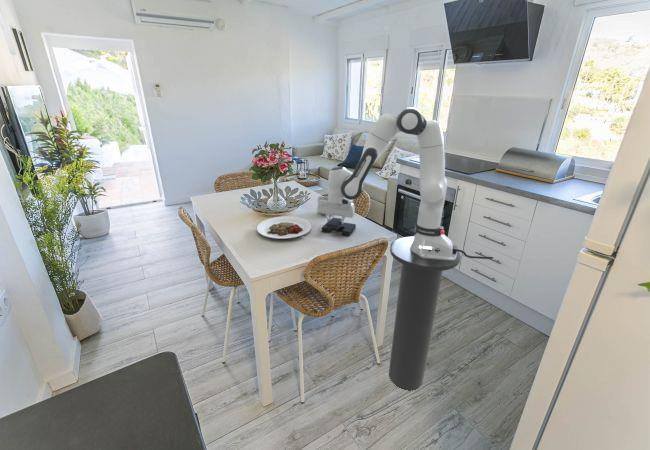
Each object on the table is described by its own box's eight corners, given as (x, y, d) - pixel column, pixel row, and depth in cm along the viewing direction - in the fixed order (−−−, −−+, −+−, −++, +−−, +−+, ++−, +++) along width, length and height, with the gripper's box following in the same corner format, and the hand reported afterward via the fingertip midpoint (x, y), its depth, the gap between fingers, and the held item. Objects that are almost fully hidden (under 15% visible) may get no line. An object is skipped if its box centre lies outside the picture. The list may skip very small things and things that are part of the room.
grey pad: (343, 223, 173) (343, 219, 172) (337, 229, 164) (337, 225, 163) (333, 221, 175) (333, 217, 174) (326, 228, 166) (326, 223, 165)
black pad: (355, 228, 179) (355, 224, 178) (349, 236, 169) (349, 231, 168) (329, 224, 184) (329, 220, 183) (321, 231, 174) (321, 227, 173)
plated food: (259, 219, 188) (259, 214, 186) (310, 218, 190) (310, 213, 189) (254, 242, 160) (253, 236, 159) (312, 240, 163) (312, 234, 161)
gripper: (315, 197, 164) (315, 221, 169) (353, 202, 157) (351, 227, 163) (319, 193, 169) (319, 217, 175) (356, 198, 163) (354, 223, 168)
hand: (335, 222), depth 169 cm, fingers closed on grey pad, 6 cm apart
